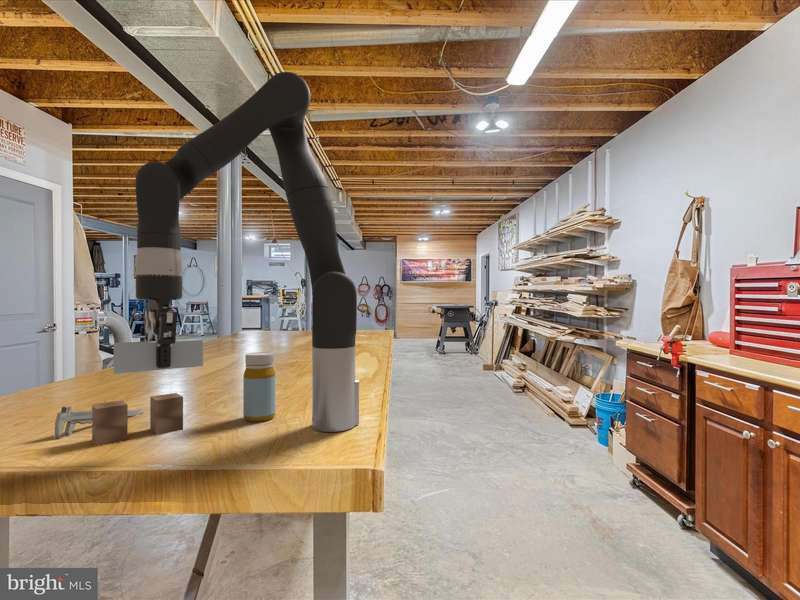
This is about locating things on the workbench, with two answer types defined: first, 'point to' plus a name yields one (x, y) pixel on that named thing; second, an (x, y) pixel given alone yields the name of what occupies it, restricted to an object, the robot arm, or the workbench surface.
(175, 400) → the pillar
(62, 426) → the caliper
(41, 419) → the workbench surface
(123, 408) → the pillar
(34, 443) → the workbench surface
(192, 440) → the workbench surface
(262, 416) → the bottle
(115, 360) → the lintel
